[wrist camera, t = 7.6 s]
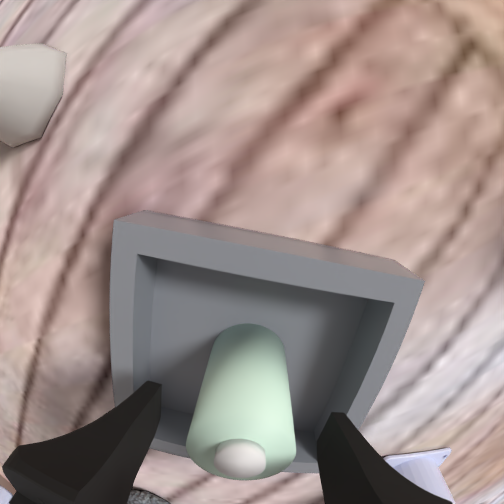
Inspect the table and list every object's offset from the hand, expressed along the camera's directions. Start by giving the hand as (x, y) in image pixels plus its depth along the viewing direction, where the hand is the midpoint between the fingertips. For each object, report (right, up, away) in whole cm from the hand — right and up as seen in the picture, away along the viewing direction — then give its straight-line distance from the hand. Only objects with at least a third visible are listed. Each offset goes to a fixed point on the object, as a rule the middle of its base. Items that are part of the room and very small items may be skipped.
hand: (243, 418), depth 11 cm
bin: (0, +1, +5) cm, 6 cm away
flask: (-14, +17, +2) cm, 22 cm away
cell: (0, +1, +5) cm, 5 cm away
